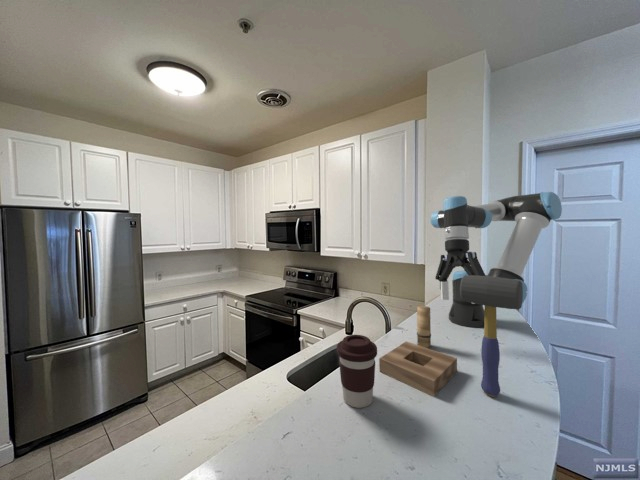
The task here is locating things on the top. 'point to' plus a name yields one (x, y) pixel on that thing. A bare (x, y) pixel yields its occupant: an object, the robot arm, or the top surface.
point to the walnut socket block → (419, 367)
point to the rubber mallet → (491, 318)
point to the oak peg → (423, 327)
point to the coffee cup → (357, 369)
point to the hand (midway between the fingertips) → (459, 301)
